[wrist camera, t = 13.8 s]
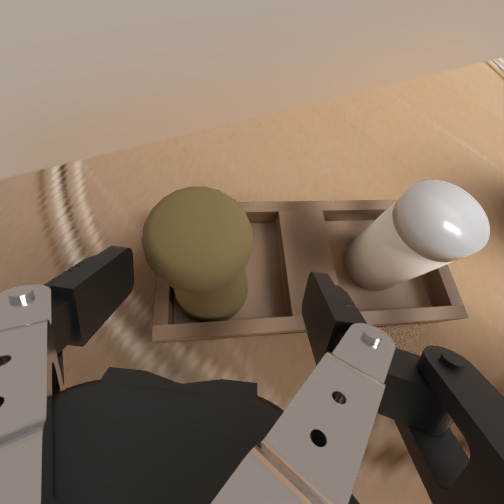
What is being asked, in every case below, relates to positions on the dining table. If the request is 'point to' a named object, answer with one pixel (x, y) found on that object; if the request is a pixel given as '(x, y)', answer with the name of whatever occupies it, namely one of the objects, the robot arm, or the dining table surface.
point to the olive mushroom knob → (201, 251)
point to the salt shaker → (417, 236)
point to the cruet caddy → (298, 269)
